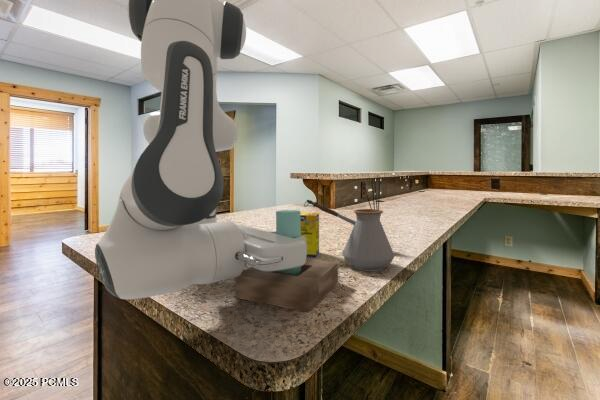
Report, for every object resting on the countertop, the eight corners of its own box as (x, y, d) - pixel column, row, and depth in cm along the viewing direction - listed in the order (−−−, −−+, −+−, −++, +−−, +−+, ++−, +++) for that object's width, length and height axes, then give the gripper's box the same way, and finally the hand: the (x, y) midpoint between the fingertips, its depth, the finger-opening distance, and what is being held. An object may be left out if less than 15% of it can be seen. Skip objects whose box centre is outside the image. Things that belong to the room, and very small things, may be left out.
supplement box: (316, 258, 78) (316, 215, 77) (293, 257, 79) (293, 214, 78) (319, 252, 83) (319, 212, 82) (298, 251, 85) (297, 211, 84)
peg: (274, 285, 55) (272, 212, 54) (281, 277, 59) (279, 209, 58) (298, 286, 54) (297, 213, 53) (303, 278, 58) (302, 210, 57)
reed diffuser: (381, 255, 79) (382, 178, 78) (355, 252, 83) (356, 178, 81) (390, 247, 88) (391, 177, 87) (366, 244, 92) (367, 177, 90)
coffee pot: (396, 262, 73) (397, 199, 72) (390, 277, 63) (391, 204, 62) (313, 253, 82) (313, 197, 81) (295, 265, 71) (294, 201, 70)
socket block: (235, 297, 53) (234, 274, 53) (275, 273, 66) (275, 255, 65) (309, 312, 47) (309, 286, 47) (338, 282, 60) (338, 262, 59)
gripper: (257, 241, 39) (333, 228, 48) (197, 222, 55) (263, 215, 64) (258, 289, 40) (333, 268, 48) (198, 257, 56) (263, 245, 64)
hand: (292, 238), depth 56 cm, fingers open, 5 cm apart
